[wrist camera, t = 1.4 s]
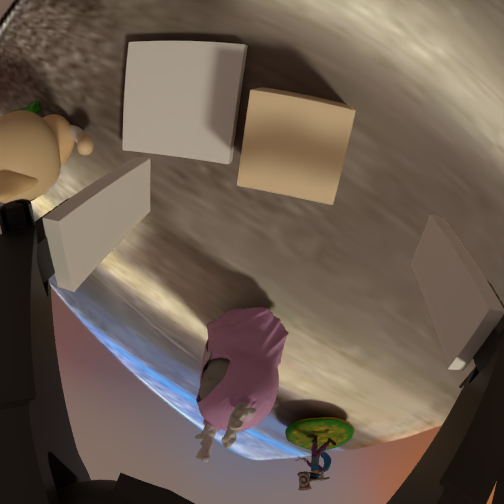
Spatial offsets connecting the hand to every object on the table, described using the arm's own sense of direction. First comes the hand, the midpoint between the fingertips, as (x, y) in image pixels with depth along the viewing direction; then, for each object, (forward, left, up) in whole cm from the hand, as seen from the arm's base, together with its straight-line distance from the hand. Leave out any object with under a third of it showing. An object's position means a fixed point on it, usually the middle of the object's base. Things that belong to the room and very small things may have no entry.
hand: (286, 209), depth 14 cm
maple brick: (0, 0, -19) cm, 19 cm away
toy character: (+25, -2, -19) cm, 32 cm away
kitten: (+3, -29, -19) cm, 35 cm away
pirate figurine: (+49, +15, -19) cm, 55 cm away
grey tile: (-2, -12, -18) cm, 22 cm away
